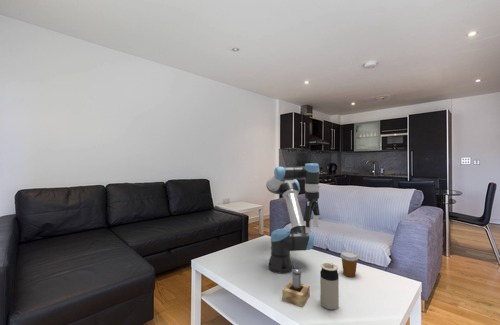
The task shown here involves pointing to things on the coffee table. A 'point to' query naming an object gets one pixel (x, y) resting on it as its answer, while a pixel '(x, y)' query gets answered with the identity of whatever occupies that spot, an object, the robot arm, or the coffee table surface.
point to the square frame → (296, 294)
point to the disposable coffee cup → (349, 263)
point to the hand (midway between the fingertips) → (312, 229)
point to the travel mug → (329, 286)
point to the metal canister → (296, 279)
